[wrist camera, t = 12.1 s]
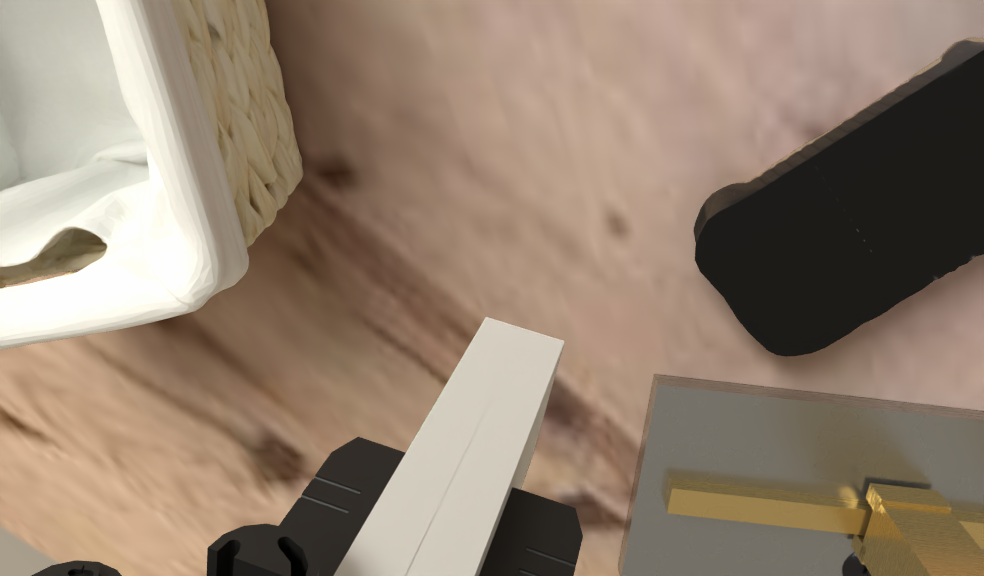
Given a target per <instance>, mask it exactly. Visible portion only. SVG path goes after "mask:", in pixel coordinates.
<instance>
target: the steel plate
mask: <svg viewBox="0 0 984 576" xmlns="http://www.w3.org/2000/svg"><path fill="white" fill-rule="evenodd" d="M669 478H676V479H685V480H693V481H702V482H711V483H720V484H729V485H738V486H747V487H756V488H765V489H773V490H782V491H791V492H800V493H809V494H818V495H827V496H836V497H844V498H853V499H862V500H867V499H866V494H867V491H868V488H869V484H870V483H874V484H883V485H892V486H901V487H910V488H919V489H928V490H937V491H938V492H939V493H940V494H941V495H942V496H943V498H944V499H945V500H946V501H947V503H948V504H949V505H950V506H951V507H952V509H951V510H960V511H969V512H978V513H984V411H978V410H969V409H960V408H951V407H942V406H933V405H924V404H915V403H906V402H897V401H888V400H879V399H871V398H862V397H853V396H844V395H835V394H826V393H817V392H808V391H799V390H790V389H781V388H773V387H764V386H755V385H746V384H737V383H728V382H719V381H710V380H701V379H692V378H683V377H675V376H666V375H657V374H654V378H653V383H652V389H651V394H650V399H649V405H648V410H647V415H646V420H645V426H644V431H643V436H642V442H641V447H640V452H639V457H638V463H637V468H636V473H635V479H634V484H633V489H632V494H631V500H630V505H629V510H628V516H627V521H626V526H625V531H624V537H623V542H622V547H621V553H620V558H619V563H618V568H619V575H620V576H866V574H867V571H868V569H867V568H866V566H865V565H863V564H861V562H860V561H859V559H858V557H857V555H856V554H855V552H854V550H853V549H852V547H851V544H852V541H853V537H854V534H847V533H838V532H829V531H820V530H811V529H802V528H793V527H785V526H776V525H767V524H758V523H749V522H740V521H731V520H722V519H714V518H705V517H696V516H687V515H678V514H669V513H667V511H666V508H665V504H664V500H665V495H666V490H667V485H668V480H669ZM982 550H983V551H984V549H982Z"/></svg>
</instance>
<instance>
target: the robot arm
mask: <svg viewBox="0 0 984 576" xmlns="http://www.w3.org/2000/svg"><path fill="white" fill-rule="evenodd" d="M564 342H565V341H563V340H560V339H556V338H553V337H550V336H547V335H543V334H540V333H537V332H534V331H530V330H527V329H524V328H521V327H518V326H514V325H511V324H508V323H505V322H501V321H498V320H495V319H492V318H488V317H486V318H485V319H484V321H483V323H482V324H481V326H480V328H479V330H478V331H477V333H476V335H475V336H474V338H473V340H472V341H471V343H470V345H469V347H468V348H467V350H466V352H465V353H464V355H463V357H462V358H461V360H460V362H459V364H458V365H457V367H456V369H455V370H454V372H453V374H452V375H451V377H450V379H449V381H448V382H447V384H446V386H445V387H444V389H443V391H442V392H441V394H440V396H439V397H438V399H437V401H436V403H435V404H434V406H433V408H432V409H431V411H430V413H429V414H428V416H427V418H426V420H425V421H424V423H423V425H422V426H421V428H420V430H419V431H418V433H417V435H416V437H415V438H414V440H413V442H412V443H411V445H410V447H409V448H408V450H407V452H406V453H405V452H402V451H399V450H396V449H393V448H390V447H387V446H384V445H381V444H378V443H375V442H372V441H369V440H366V439H363V438H360V437H357V438H355V439H354V440H352V441H350V442H348V443H347V444H345V445H343V446H342V447H340V448H338V449H337V450H335V451H333V452H332V453H331V454H330V456H329V457H328V458H327V460H326V461H325V462H324V464H323V465H322V467H321V468H320V469H319V471H318V472H317V474H316V475H315V478H314V480H313V479H312V481H311V482H310V483H309V485H308V486H307V487H306V489H305V490H304V492H303V493H302V496H301V498H299V499H298V500H297V501H296V503H295V504H294V506H293V507H292V508H291V510H290V511H289V512H288V514H287V515H286V517H285V518H284V519H283V521H282V522H281V524H280V525H279V526H275V525H270V524H259V525H249V526H243V527H240V528H238V529H235V530H233V531H230V532H228V533H226V534H223V535H222V536H221V537H220V538H219V539H218V540H216V541H215V542H214V543H213V544H212V545H211V546H209V547H208V555H207V576H573V575H574V571H575V566H576V563H577V559H578V555H579V550H580V546H581V542H582V538H583V535H582V531H581V528H580V524H579V520H578V516H577V513H576V509H575V508H573V507H570V506H567V505H564V504H561V503H558V502H555V501H553V500H550V499H547V498H544V497H541V496H538V495H535V494H532V493H529V492H526V491H523V490H521V487H522V484H523V482H524V479H525V476H526V473H527V471H528V468H529V465H530V462H531V460H532V457H533V453H534V450H535V446H536V442H537V439H538V435H539V432H540V428H541V424H542V421H543V417H544V414H545V410H546V407H547V403H548V399H549V396H550V392H551V389H552V385H553V381H554V378H555V374H556V371H557V367H558V363H559V360H560V356H561V353H562V349H563V346H564ZM32 576H122V575H121V574H120V573H119V572H118V571H117V570H116V569H114V568H111V567H109V566H107V565H104V564H102V563H100V562H91V561H71V562H66V563H62V564H57V565H52V566H50V567H48V568H46V569H44V570H42V571H40V572H38V573H36V574H34V575H32Z"/></svg>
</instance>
